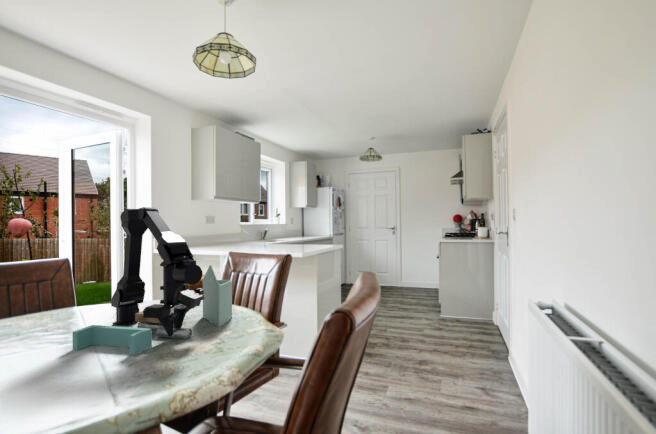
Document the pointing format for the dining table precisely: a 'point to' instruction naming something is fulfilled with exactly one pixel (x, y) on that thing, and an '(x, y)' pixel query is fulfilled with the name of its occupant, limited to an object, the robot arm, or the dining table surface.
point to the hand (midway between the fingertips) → (174, 333)
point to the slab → (140, 318)
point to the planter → (217, 299)
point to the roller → (175, 333)
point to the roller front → (149, 325)
